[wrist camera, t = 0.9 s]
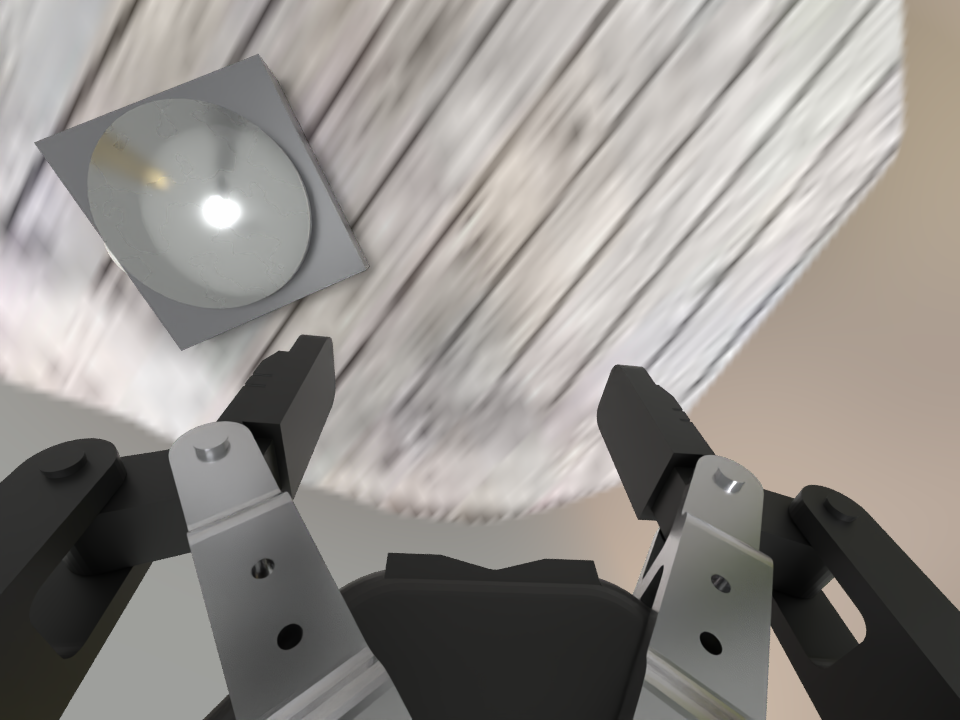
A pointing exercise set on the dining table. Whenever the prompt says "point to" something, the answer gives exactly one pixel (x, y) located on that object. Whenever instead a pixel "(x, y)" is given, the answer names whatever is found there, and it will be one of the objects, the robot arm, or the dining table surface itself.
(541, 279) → the dining table surface
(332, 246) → the base
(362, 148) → the dining table surface
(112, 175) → the scale pan
